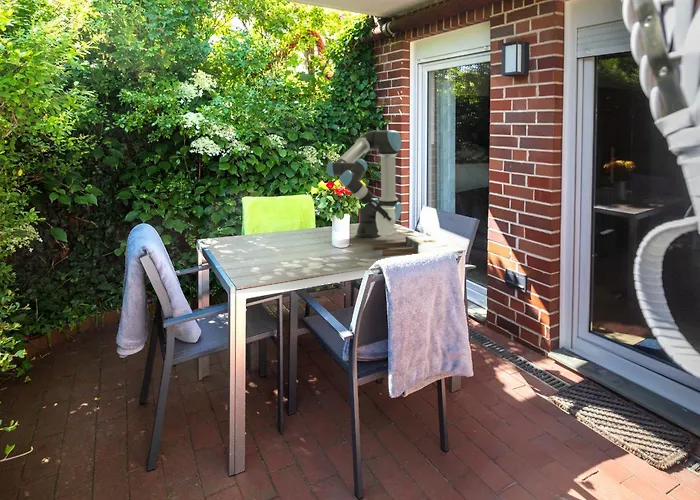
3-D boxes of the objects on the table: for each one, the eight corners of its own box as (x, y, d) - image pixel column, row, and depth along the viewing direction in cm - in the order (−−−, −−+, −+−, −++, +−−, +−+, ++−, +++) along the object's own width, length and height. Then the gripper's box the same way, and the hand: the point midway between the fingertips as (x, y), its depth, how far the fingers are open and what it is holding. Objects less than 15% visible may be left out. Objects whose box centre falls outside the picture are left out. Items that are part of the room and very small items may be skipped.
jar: (393, 232, 289) (394, 205, 286) (396, 236, 279) (396, 208, 276) (374, 232, 289) (374, 205, 285) (376, 236, 279) (377, 208, 275)
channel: (374, 248, 293) (374, 238, 292) (407, 246, 298) (407, 236, 297) (383, 255, 278) (383, 244, 276) (418, 252, 283) (418, 242, 281)
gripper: (352, 197, 286) (379, 223, 294) (364, 202, 265) (392, 231, 272) (362, 187, 286) (388, 213, 294) (374, 192, 265) (402, 220, 272)
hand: (390, 222), depth 283 cm, fingers closed on jar, 10 cm apart
